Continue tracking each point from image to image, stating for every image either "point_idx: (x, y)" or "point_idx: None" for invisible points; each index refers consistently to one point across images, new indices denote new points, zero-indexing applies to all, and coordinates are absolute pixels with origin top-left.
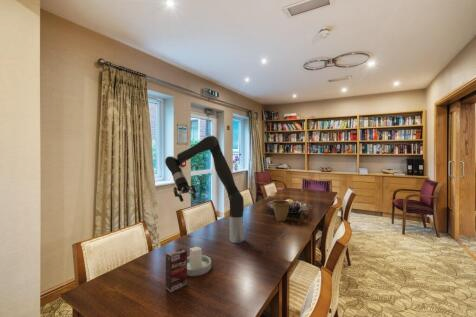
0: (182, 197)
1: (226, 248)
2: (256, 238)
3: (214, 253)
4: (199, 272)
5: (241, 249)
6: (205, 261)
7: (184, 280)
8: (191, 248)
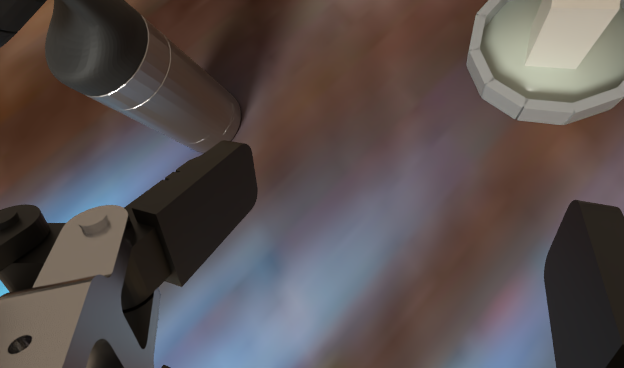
0: (597, 254)
1: (304, 95)
2: None
3: (380, 97)
4: None
5: (276, 42)
6: (487, 46)
7: None
8: (607, 2)
